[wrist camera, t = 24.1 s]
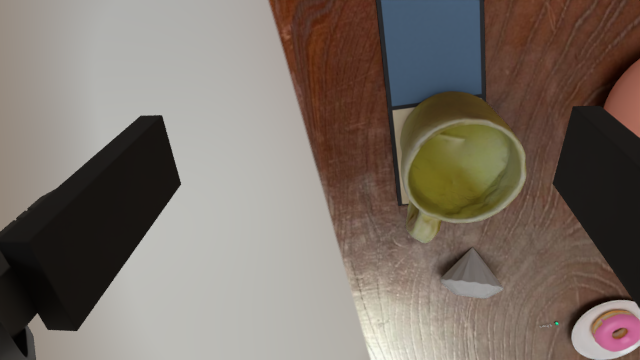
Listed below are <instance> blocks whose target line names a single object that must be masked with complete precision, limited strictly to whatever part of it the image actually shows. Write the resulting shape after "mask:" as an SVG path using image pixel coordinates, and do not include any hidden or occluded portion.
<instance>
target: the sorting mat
mask: <svg viewBox="0 0 640 360" xmlns="http://www.w3.org/2000/svg"><path fill="white" fill-rule="evenodd" d="M376 6H377V15H378V24H379V33H380V42H381V51H382V61H383V70H384V79H385V88H386V97H387V106H388V116H389V125H390V134H391V143H392V152H393V161H394V171H395V180H396V189H397V198H398V205H399V206H401V205H409V204H402V196H401V187H400V177H399V168H398V158H397V148H396V139H395V129H394V120H393V110H400V109H407V108H414V107H417V106H418V105H419V104H420V103H421V102H422V101H424V100H426V99H427V98H429V97H431V96H433V95H436V94H439V93H443V92H447V91H457V92H464V93H469V94H472V95H474V96H477V97H479V98H482V100H484V101H485V102H486V76H485V23H484V0H376Z"/></svg>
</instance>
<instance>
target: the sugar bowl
mask: <svg viewBox="0 0 640 360" xmlns="http://www.w3.org/2000/svg"><path fill="white" fill-rule="evenodd" d="M603 109H605V110H606V111H607V112H608V113H610V114H611V115H612V116H613V117H615V118H616V119H617V120H618V121H619V122H621V123H622V124H623V125H624V126H626V127H627V128H628V129H629V130H631V131H632V132H633V133H634V134H636V135H637V136H638V137H639V138H640V59H639V60H637V61H636V62H635V63H634V64H632V65H631V66H630V67H629V68H628V69H627V70H626V71H625V72H624V73H623V75H622V76H621V77H620V78H619V80H618V81H617V82H616V84H615V85H614V87H613V88H612V90H611V91H610V93H609V95H608V98H607V100H606V102H605V105H604V108H603Z"/></svg>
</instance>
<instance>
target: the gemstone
mask: <svg viewBox="0 0 640 360" xmlns="http://www.w3.org/2000/svg"><path fill="white" fill-rule="evenodd" d="M440 282H441V283H442V284H443V285H444V286H445V287H447V288H448V289H449V290H450V291H451V292H453V293H454V294H456V295H461V296H467V297H475V298H488V297H491V296H493V295H495V294H496V293H498V292H500V291H502V290H503V286H502V285H501V283H500V282H499V281H498V280H497V278H496V277H495V276H494V274H493V273H492V272H491V270H490V269H489V268H488V266H487V265H486V264H485V262H484V261H483V260H482V259H481V257H480V256H479V255H478V253H477V252H476V251H475V249H474V248H473V247H472V248H471V249H470V250H469V251H468V252H467V253H466V254H465V255H464V256H463V257H462V258H461V259H460V260H459V261H458V262H457V263H456V264H455V265H454V266H453V267H452V268H451V269H450V270H449V271H448V272H447V273H446V274H445V275H444V276H442V277H441V278H440Z"/></svg>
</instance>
